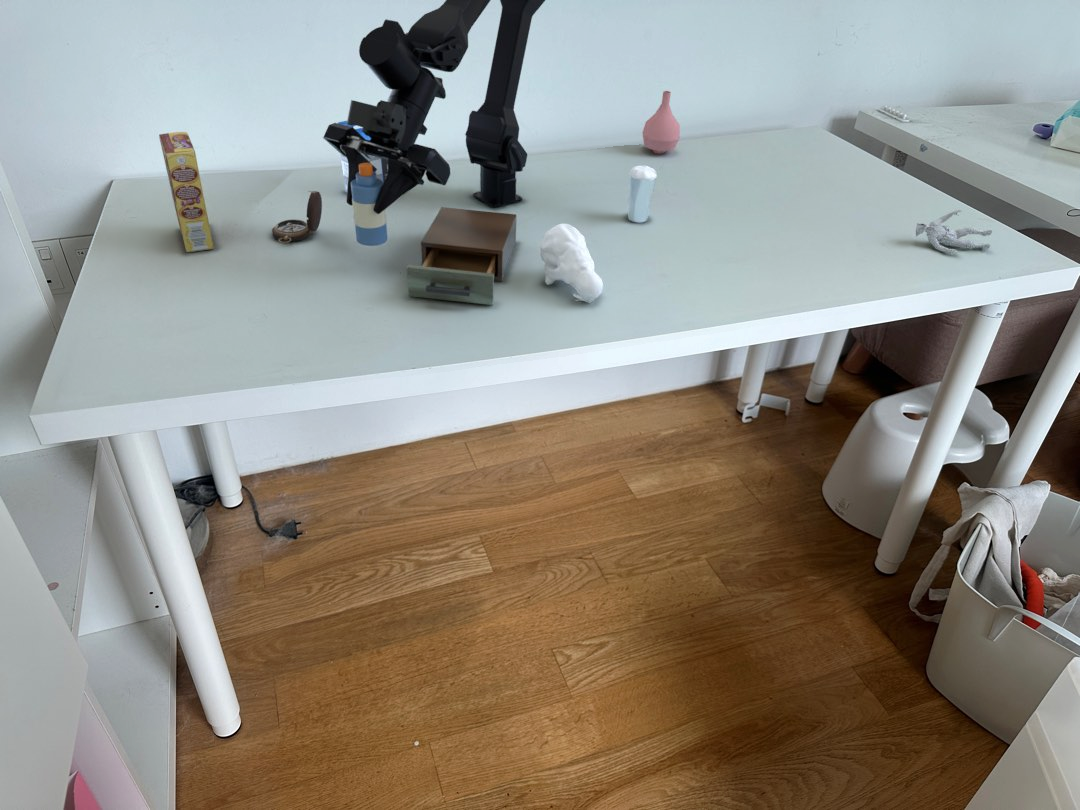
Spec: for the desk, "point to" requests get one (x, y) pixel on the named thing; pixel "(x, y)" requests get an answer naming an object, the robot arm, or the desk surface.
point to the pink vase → (662, 128)
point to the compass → (301, 222)
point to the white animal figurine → (570, 261)
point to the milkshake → (640, 192)
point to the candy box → (186, 190)
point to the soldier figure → (950, 235)
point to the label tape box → (375, 161)
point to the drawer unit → (473, 234)
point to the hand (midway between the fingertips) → (362, 208)
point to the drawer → (454, 276)
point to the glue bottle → (368, 207)
